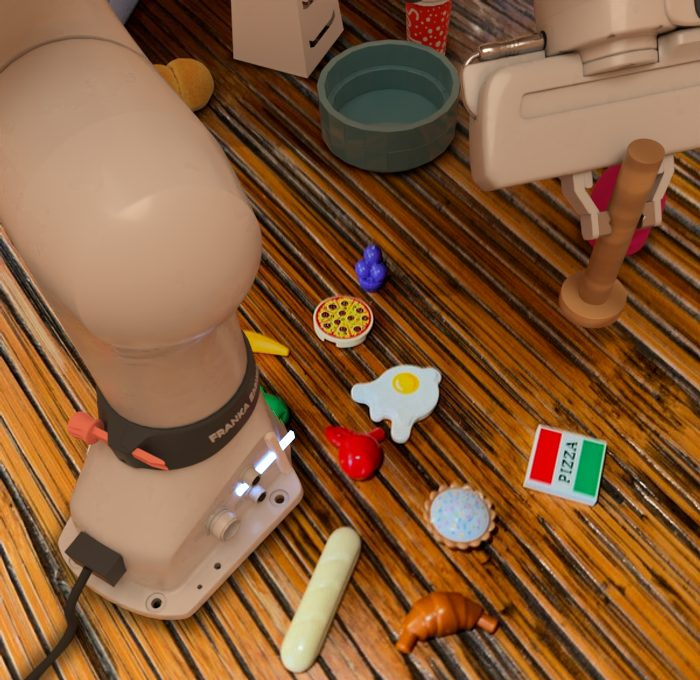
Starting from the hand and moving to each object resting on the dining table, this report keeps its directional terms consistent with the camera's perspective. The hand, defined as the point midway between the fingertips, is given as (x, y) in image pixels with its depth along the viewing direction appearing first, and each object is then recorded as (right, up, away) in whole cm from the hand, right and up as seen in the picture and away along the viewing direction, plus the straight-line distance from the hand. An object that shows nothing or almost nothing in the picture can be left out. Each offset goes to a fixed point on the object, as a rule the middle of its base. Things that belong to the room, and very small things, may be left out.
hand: (622, 233), depth 55 cm
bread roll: (-41, +28, +39) cm, 63 cm away
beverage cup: (-10, +34, +40) cm, 54 cm away
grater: (-27, +37, +43) cm, 63 cm away
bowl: (-15, +22, +34) cm, 43 cm away
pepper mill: (+8, +7, +25) cm, 27 cm away
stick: (0, -3, +8) cm, 8 cm away
